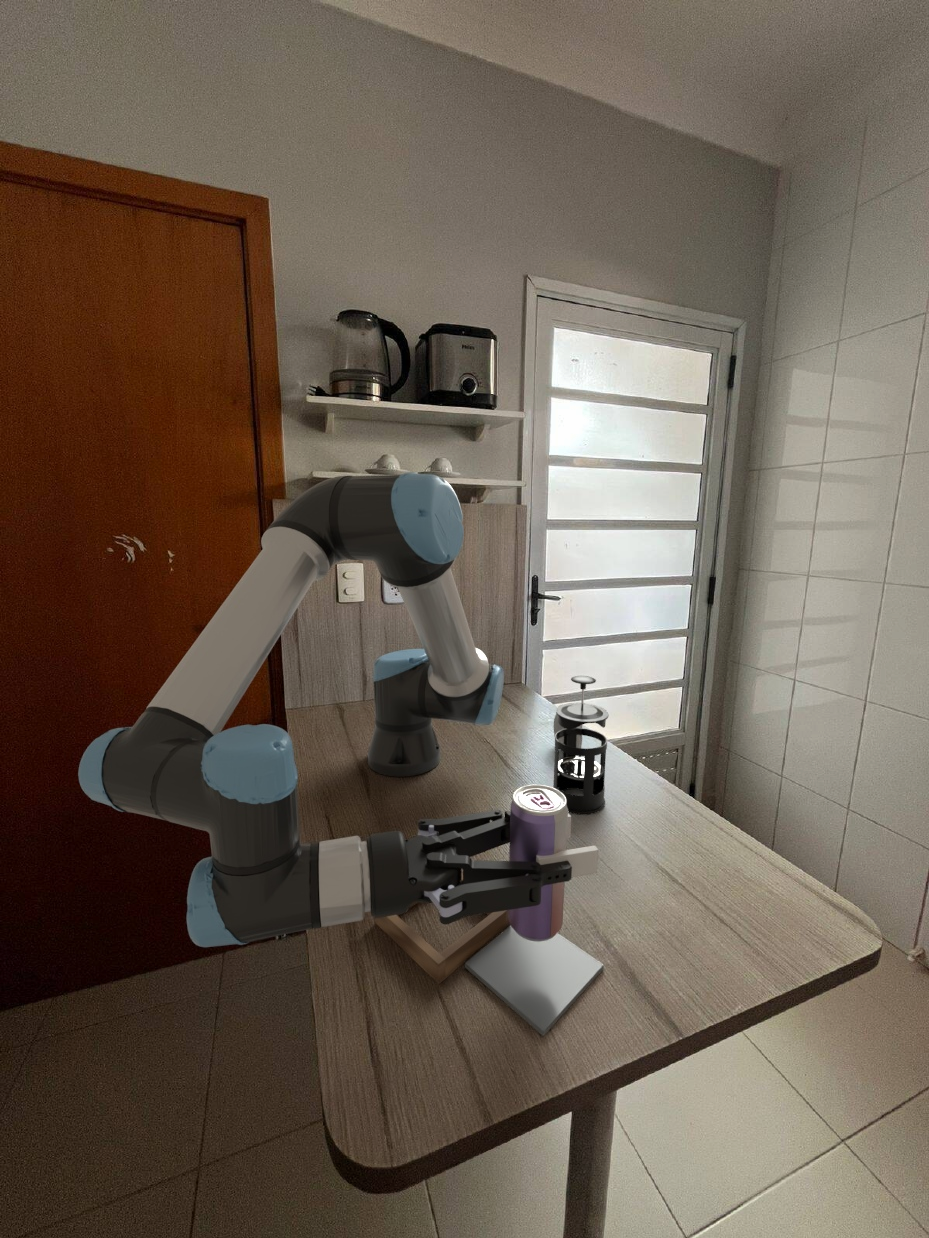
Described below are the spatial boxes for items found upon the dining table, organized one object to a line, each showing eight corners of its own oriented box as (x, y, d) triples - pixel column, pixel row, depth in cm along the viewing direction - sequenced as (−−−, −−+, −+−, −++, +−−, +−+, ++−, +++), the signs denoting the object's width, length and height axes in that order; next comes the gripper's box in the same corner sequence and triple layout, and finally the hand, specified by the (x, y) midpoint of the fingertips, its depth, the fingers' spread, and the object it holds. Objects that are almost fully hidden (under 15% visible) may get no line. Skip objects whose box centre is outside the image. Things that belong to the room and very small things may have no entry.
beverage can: (524, 952, 53) (529, 819, 50) (498, 912, 58) (500, 789, 55) (573, 934, 55) (580, 806, 52) (543, 897, 60) (548, 779, 58)
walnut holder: (375, 922, 65) (374, 905, 64) (446, 877, 73) (446, 861, 72) (438, 983, 56) (438, 964, 56) (511, 924, 64) (511, 906, 64)
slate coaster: (465, 967, 58) (465, 962, 58) (526, 915, 66) (526, 911, 66) (543, 1036, 50) (543, 1031, 50) (603, 969, 58) (603, 964, 58)
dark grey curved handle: (550, 744, 116) (551, 702, 114) (564, 743, 116) (566, 700, 115) (569, 764, 106) (570, 719, 104) (584, 763, 107) (586, 717, 105)
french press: (615, 814, 88) (623, 686, 84) (562, 819, 87) (567, 688, 82) (589, 780, 100) (595, 666, 95) (542, 784, 98) (546, 668, 94)
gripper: (362, 852, 60) (547, 825, 66) (374, 990, 42) (626, 936, 48) (360, 793, 59) (548, 770, 64) (371, 910, 41) (631, 864, 47)
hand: (581, 841), depth 56 cm, fingers closed on beverage can, 6 cm apart
